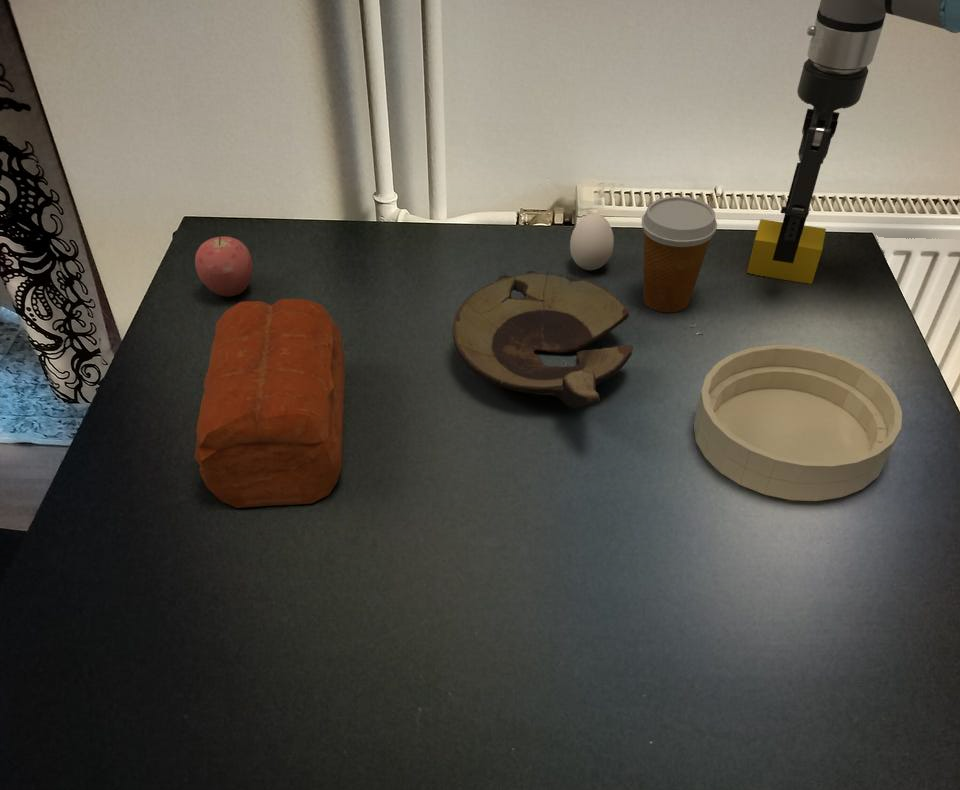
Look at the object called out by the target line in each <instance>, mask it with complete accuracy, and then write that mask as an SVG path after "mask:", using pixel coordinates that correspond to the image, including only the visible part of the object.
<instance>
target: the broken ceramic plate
mask: <svg viewBox="0 0 960 790" xmlns="http://www.w3.org/2000/svg"><path fill="white" fill-rule="evenodd" d="M513 291H516V292H517V293H521V294H522V295H523V296H522V298H513V297H512V293H513ZM629 317H630V313H629V309H628V308H627V307H626V306H624V304H623V302H622V300H620V299H619V298H618V297H617V296H615V295H614V294H611V292H609V291H608V290H607V289H605V288H604V287H602V286H600V285H598V284H596V283H593V282H591V281H588V280H585V279H581V278H577V277H576V278H575V277H570V276H568V275H566V276H563V275H562V274H556V273H555V274H552V273H551V274H550V273H548V272H547V273H541V272H537V271H534V270H529V271H527V272H525V273H522V274H519V275H506V274H503V275H500V276H499V277H498V278H497V279H496V281H494V282H491V283H489V284H487V285H485V286H483V287H481V288H480V289H478V290H477V291H475V292H474V293H472V294H471V295H470V296H469V297H467V298H466V299H465V300H464V301H463V303H462V304H461V305H460V306H459V308H458V309H457V311H456V313H455V316H454V319H453V321H452V327H451V328H452V331H451V332H452V338H453V343H454V347H455V350H456V352H457V354H458V356H459V358H460V359H461V360H462V362H463V363H464V364H465V365H466V367H467V368H468V369H469V370H470V371H472V372H473V373H475V374H476V375H477V376H479V377H481V378H482V379H483V380H485V381H488V382H489V383H492V384H494V385H496V386H498V387H501V388H504V389H508V390H510V391H515V392H518V393H519V392H520V393H525V394H534V395H541V396H555V397H556V398H558V399H559V400H561V402H563V404H564V405H566V406H567V407H569V408H581V407H584V406H590V405H594V404H597V403H599V402H601V401H600V400H601V398H600V394H599V393H598V392H597V391H596V386H597V385H598V384H600V383H602V382H604V381H606V380H608V379H609V378H611V377H613V376H614V375H615V374H617V373H618V372H620V370H621V369H622V368H623V367H624V366H625V365H626V363H627V362H628V361H629V359H630V358H631V356H632V354H633V350H634V347H633V345H629V344H628V345H622V346H620V345H617V346H615V347H603V348H600V349H598V348H596V349H585V348H586V347H588V346H590V345H591V344H592V343H594V342H596V341H598V340H600V339H601V338H602V337H604V336H605V335H607V334H609V333H610V332H611V331H612V330H614V329H615V328H617V327H618V326H620V325H621V324H622V323H623V322H625V321H626V320H627V319H628V318H629ZM581 349H583V350H581ZM535 352H542V353H544V352H546V353H554V354H565V353H566V354H567V353H568V354H569V353H571V352H573V353H575V352H576V362H577V365H574V366H568V365H567V363H566V361H565V360H563V362H564V366H558V365H553V366H551V365H545V364H543V362H542V360H541V359H540V357H538V355H536V353H535Z"/></svg>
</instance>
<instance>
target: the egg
mask: <svg viewBox="0 0 960 790" xmlns="http://www.w3.org/2000/svg"><path fill="white" fill-rule="evenodd" d="M614 244H615V236H614V232H613V229H612V226H611V225H610V223H609V221H608V219H607V218H606V217H604V216H603V215H601V214H599V213H595V212H593V213H589V214H586V215H584V216H583V217H582V218H580V220H579V221H578V222H577V223H576V225H575V226H574V229H573V230H572V233H571V236H570V241H569V250H570V255H571V258H572V260H573V261H574V263H575V265H577V266H578V267H579V268H581V269H583V270H585V271H596V270H599V269H600V268H602V267H603V266H604V265H606V263H608V261H609V260H610V258H611V257H612V254H613V251H614V247H615V245H614Z"/></svg>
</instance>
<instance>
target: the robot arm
mask: <svg viewBox="0 0 960 790" xmlns="http://www.w3.org/2000/svg"><path fill="white" fill-rule="evenodd" d="M818 6H819V7H818V9H817V13H816V19H815V21H814V25H809V26H808V27H807V29H806V34H807V36H809V37H811V38H810V41H809V44H808V49H807V53H806V54H807V55H806V56H807V57H808V58H807V60H806V61H804V63H803V65H802V66H803V67H802V70H801V74H800V78H799V82H798V85H797V90H796V91H797V96H798V98H799V100H800V101H802V102H803V103H805V104H807V105H811V106H812V107H813V108H807V109H806V113H805V116H804V121H803V125H802V129H801V134H802V137H801V141H800V144H799V148H798V154H797V155H798V159H799V160H798V161H799V162H797V163H796V166H795V170H794V174H793V178H792V181H791V185H790V188H789V193H788V196H787V199H786V204H785V206H781V210H780V214H783V215H784V216H783V220H782V222H783V223H782V227H781V230H780V234H779V238H778V241H777V245H776V249H775V252H774V256H773V260H775V261H781V262H787V263H793V262H794V258H795V255H796V252H797V248H798V245H799V241H800V238H801V235H802V231H803V228H804V225H805V224H806V220H807V218H808V216H809V214H810V207H811V206H810V205H811V202H812V200H813V199H812V198H813V196H814V193H815V188H816V185H817V180H818V178H819V177H818V176H819V173H820V170H821V167H822V165H823V164H824V160H825V159H826V158H827V155H828V152H829V149H830V145H831V142H832V138H833V137H834V136H835V133H836V131H837V127H838V123H839V117H840V112H837V110H840V109H842V110H843V109H848V108H851V107H853V106H855V105H856V104H857V103H859V101H860V100H861V98H862V94H863V91H864V89H865V84H866V80H867V78H868V74H869V68H868V67H869V66H870V65H871V63H872V62H873V60H874V56H875V54H876V51H877V47H878V44H879V40H880V37H881V34H882V30H883V27H884V24H885V23H884V22H885V20H886V15H887V14H888V15H892V16H895V17H898V18H899V17H900V18H903V19H906V20H910V21H914V22H918V23H921V24H924V25H928V26H932V27H934V28H935V27H936V28H940V29H943V30H945V31H947V32H949V33H951V34H957V33H959V34H960V0H820V2H819V5H818Z"/></svg>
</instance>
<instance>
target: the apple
mask: <svg viewBox="0 0 960 790" xmlns="http://www.w3.org/2000/svg"><path fill="white" fill-rule="evenodd" d="M194 267H195V270H196V274H197V276H198V278H199V279H200V281H201V282H202V284H203V285H204V286H205V287H206V288H207V289H208V290H209V291H211V292H212V293H214V294H216V295H218V296H220V297H229V298H230V297H235V296H238V295H241V294H242V293H243V292H244V291H245V290H246V289H247V287H248V286H249V285H250V282H251V280H252V276H253V272H254V271H253V270H254V269H253V261H252V256H251V254H250V251H249V249H248V247H247V246H246V245H245V244H244V243H243V242H242V241H241V240H239V239H237V238H234V237H232V236H216V237H212V238H210V239H207V240H205V241H204V242H203V243H202V244H200V246H199V247H198V249H197V250H196V253H195V257H194Z"/></svg>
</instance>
